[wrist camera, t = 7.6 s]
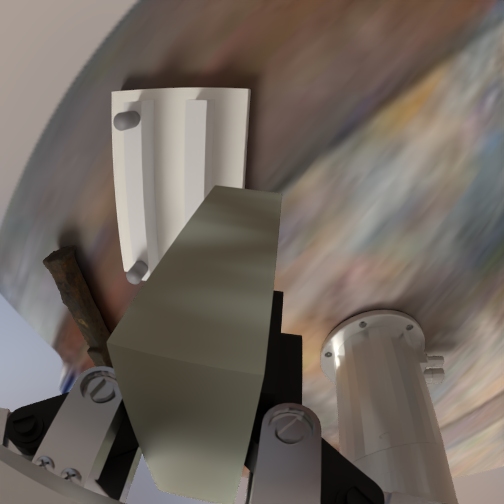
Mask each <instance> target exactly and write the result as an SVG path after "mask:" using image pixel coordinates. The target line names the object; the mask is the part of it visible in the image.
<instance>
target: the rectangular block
mask: <svg viewBox="0 0 504 504" xmlns="http://www.w3.org/2000/svg"><path fill="white" fill-rule="evenodd" d="M281 202H282V194H279V193H272V192H265V191H258V190H250V189H243V188H235V187H227V186H219V185H215V186H214V187H213V188H212V190H211V191H210V192H209V194H208V195H207V196H206V198H205V199H204V200H203V202H202V203H201V204H200V206H199V207H198V208H197V210H196V211H195V213H194V214H193V215H192V217H191V218H190V219H189V221H188V222H187V223H186V225H185V226H184V228H183V229H182V230H181V232H180V233H179V235H178V236H177V237H176V239H175V240H174V242H173V243H172V244H171V246H170V247H169V249H168V250H167V251H166V253H165V254H164V256H163V257H162V259H161V260H160V262H159V263H158V264H157V266H156V267H155V269H154V270H153V272H152V273H151V275H150V276H149V278H148V279H147V281H146V282H145V283H144V285H143V286H142V288H141V289H140V291H139V292H138V294H137V295H136V297H135V298H134V300H133V302H132V303H131V305H130V306H129V308H128V309H127V311H126V312H125V314H124V315H123V317H122V318H121V320H120V322H119V323H118V325H117V326H116V328H115V329H114V331H113V333H112V334H111V336H110V337H109V339H108V341H107V342H106V343H107V347H108V351H109V355H110V358H111V362H112V366H113V369H114V373H115V376H116V379H117V383H118V386H119V389H120V392H121V395H122V399H123V402H124V405H125V408H126V411H127V413H128V416H129V419H130V422H131V425H132V428H133V430H134V433H135V436H136V438H137V441H138V443H139V446H140V449H141V451H142V454H143V456H144V458H145V461H146V463H147V466H148V468H149V470H150V473H151V475H152V477H153V479H154V482H155V484H156V486H157V488H158V490H160V491H164V492H168V493H171V494H175V495H179V496H184V497H188V498H193V499H198V500H202V501H208V502H213V503H219V504H234V502H235V498H236V494H237V491H238V487H239V482H240V478H241V474H242V470H243V466H244V462H245V458H246V454H247V449H248V445H249V441H250V437H251V432H252V428H253V424H254V419H255V415H256V410H257V406H258V401H259V397H260V392H261V388H262V383H263V378H264V372H265V364H266V355H267V346H268V337H269V327H270V318H271V308H272V299H273V289H274V279H275V268H276V258H277V247H278V236H279V225H280V214H281Z"/></svg>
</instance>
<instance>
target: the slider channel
mask: <svg viewBox="0 0 504 504" xmlns="http://www.w3.org/2000/svg"><path fill="white" fill-rule="evenodd" d="M250 94H251V89H241V88H158V89H140V90H127V91H116V92H112V146H113V167H114V183H115V196H116V207H117V218H118V227H119V236H120V244H121V252H122V259H123V266H124V271H127V274H126V277H127V279H128V281H129V282H130V283H132V284H138V283H139V282H140V281H141V280H145V281H147V279H148V278H149V276H150V275H151V273H152V272H153V270H154V269H155V267H156V266H157V264H158V263H159V262H160V260H161V259H162V257H163V256H164V254H165V253H166V251H167V250H168V249H169V247H170V246H171V244H172V243H173V242H174V240H175V239H176V237H177V236H178V235H179V233H180V232H181V230H182V229H183V228H184V226H185V225H186V223H187V222H188V221H189V219H190V218H191V217H192V215H193V214H194V213H195V211H196V210H197V208H198V207H199V206H200V204H201V203H202V202H203V200H204V199H205V198H206V196H207V195H208V194H209V192H210V191H211V190H212V188H213V187H214V186H215V185H219V186H227V187H235V188H243V189H245V173H246V156H247V140H248V124H249V109H250Z"/></svg>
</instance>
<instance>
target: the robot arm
mask: <svg viewBox="0 0 504 504" xmlns="http://www.w3.org/2000/svg"><path fill="white" fill-rule="evenodd" d="M282 308H283V292H281V291H273V299H272V308H271V318H270V327H269V337H268V346H267V355H266V364H265V372H264V378H263V383H262V388H261V392H260V397H259V401H258V406H257V410H256V415H255V419H254V424H253V428H252V432H251V437H250V441H249V445H248V449H247V454H246V458H245V462H244V465H245V466H246V467H247V468H248V469H249V470H250V472H249V479H248V485H247V491H246V498H245V504H458V501H457V498H456V493H455V489H454V485H453V481H452V477H451V473H450V469H449V464H448V460H447V456H446V452H445V448H444V444H443V440H442V436H441V432H440V428H439V425H438V421H437V417H436V414H435V410H434V407H433V403H432V400H431V397H430V394H429V390H428V387H427V384H426V383H428V384H435V383H442V381H443V380H444V370H443V368H429V369H426V367H442V366H443V364H444V357H443V356H427V354H425V353H424V349H425V338H424V334H423V332H422V329H421V327H420V326H419V324H418V323H417V321H416V320H414V319H413V318H412V317H411V316H409V315H407V314H405V313H403V312H399V311H395V310H373V311H369V312H365V313H361V314H359V315H356V316H354V317H351V318H350V319H348V320H346V321H344V322H342V323H341V324H340V325H339V326H337V327H336V328H335V329H334V330H333V331H332V332H331V333H330V334H329V335H328V337H327V338H326V340H325V341H324V343H323V346H322V349H321V355H320V360H321V368H322V371H323V373H324V374H325V376H326V377H327V378H328V379H329V380H330V381H331V382H332V383H334V384H335V385H336V393H337V407H338V424H339V444H340V453H339V452H338V451H337V450H336V449H335V448H333V447H332V446H331V445H330V444H329V443H328V442H326V441H325V440H324V439H323V438H322V437H321V425H320V421H319V419H318V417H317V416H316V414H315V413H314V412H313V411H311V410H310V409H309V408H307V407H305V406H303V405H302V336H301V335H293V334H285V333H281V324H282ZM141 455H142V451H141V449H140V446H139V443H138V441H137V438H136V436H135V433H134V430H133V428H132V425H131V422H130V419H129V416H128V413H127V411H126V408H125V405H124V402H123V399H122V395H121V392H120V389H119V386H118V383H117V379H116V376H115V373H114V369H113V366H111V367H105V366H99V367H93V368H90V369H88V370H86V371H85V372H83V373H82V374H81V375H80V376H79V377H78V379H77V380H76V382H75V384H74V385H73V387H72V389H71V390H70V392H68V393H65V394H62V395H59V396H56V397H52V398H49V399H46V400H43V401H40V402H36V403H33V404H30V405H27V406H23V407H21V408H18V409H16V410H15V411H14V412H10V410H9V409H3V408H0V504H125V502H126V499H127V496H128V493H129V490H130V487H131V484H132V481H133V478H134V475H135V472H136V469H137V466H138V464H139V461H140V458H141Z"/></svg>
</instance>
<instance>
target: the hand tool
mask: <svg viewBox="0 0 504 504" xmlns="http://www.w3.org/2000/svg"><path fill="white" fill-rule="evenodd" d="M75 251H76V247H75V246H72V247H64V248H61V249H59V250H57V251H53V253H51V254H50V255H49V256H48V257H46V258H45V259H44V260H43V264H44V265H45V267H46V268H47V269H48V270H49V271H50V273H51V274H52V276H53V278H54V280H55V282H56V285H57V287H58V289H59V291H60V294H61V298H62V300H63V303H64V304H65V305H66V306H67V307H68V309H69V311H70V312H71V314H72V316H73V318H74V320H75V322H76V323H77V326H78V327H79V329H80V331H81V333H82V334H83V336H84V339H85V340H86V342H87V345H89V346H90V348H89V349H88V351H87V352H88V354H89V356H90V358H91V359H92V360H93V362H94V365H95V366H96V367H99V366H105V367H111V366H112V362H111V358H110V355H109V351H108V347H107V343H106V342H107V341H108V339H109V337H110V336H111V333H110V332H109V331H108V330H107V328H106V326H105V323H104V321H103V319H102V317H101V314H100V311H99V310H98V308H97V307H96V305H95V303H94V301H93V298H92V296H91V294H90V291H89V289H88V287H87V284H86V282H85V280H84V278H83V276H82V273H81V271H80V269H79V266H78V264H77V262H76V259H75V256H74V255H75Z"/></svg>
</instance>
